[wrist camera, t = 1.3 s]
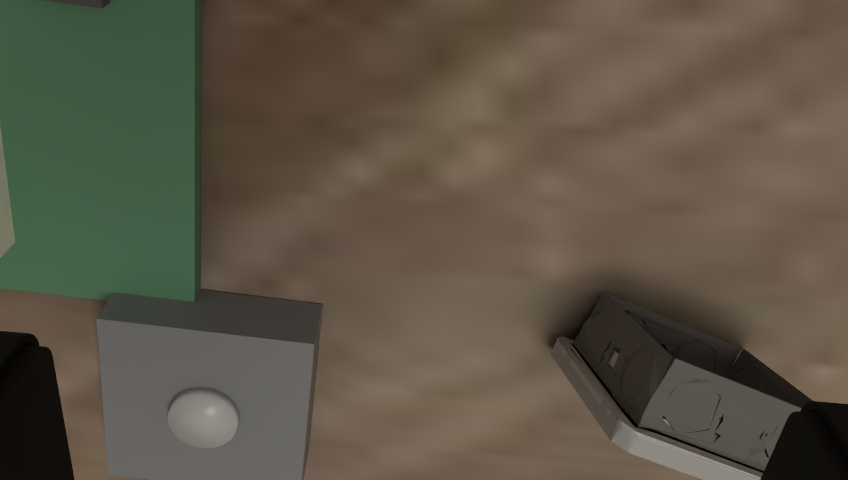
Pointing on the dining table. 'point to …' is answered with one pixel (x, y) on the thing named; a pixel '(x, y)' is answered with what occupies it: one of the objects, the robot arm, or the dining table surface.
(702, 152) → the dining table surface
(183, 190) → the board
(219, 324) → the grey knob block
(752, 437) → the electrical switch
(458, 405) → the dining table surface
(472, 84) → the dining table surface
